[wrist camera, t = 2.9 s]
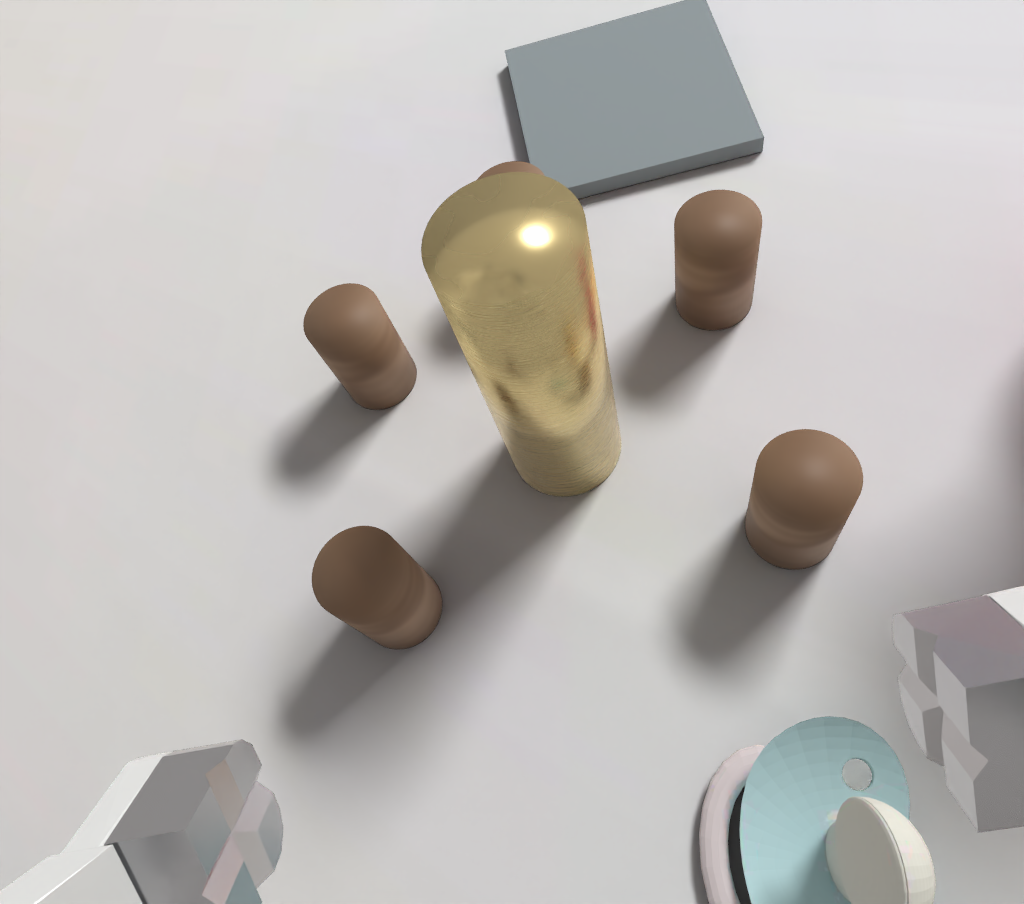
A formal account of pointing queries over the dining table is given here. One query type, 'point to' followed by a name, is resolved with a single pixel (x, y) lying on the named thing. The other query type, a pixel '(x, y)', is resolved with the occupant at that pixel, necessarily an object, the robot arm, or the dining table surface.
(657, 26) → the mat
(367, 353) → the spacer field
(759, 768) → the pacifier
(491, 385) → the gold rounded cylinder
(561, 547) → the dining table surface
